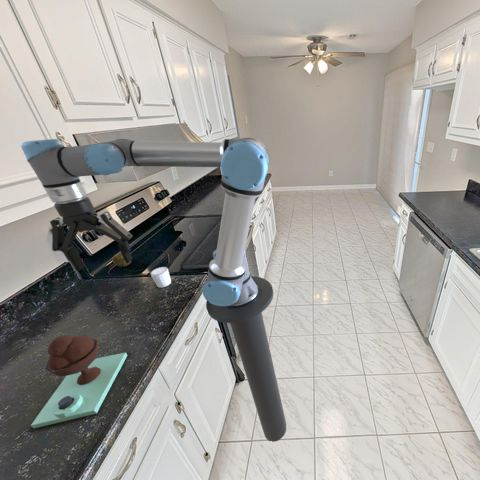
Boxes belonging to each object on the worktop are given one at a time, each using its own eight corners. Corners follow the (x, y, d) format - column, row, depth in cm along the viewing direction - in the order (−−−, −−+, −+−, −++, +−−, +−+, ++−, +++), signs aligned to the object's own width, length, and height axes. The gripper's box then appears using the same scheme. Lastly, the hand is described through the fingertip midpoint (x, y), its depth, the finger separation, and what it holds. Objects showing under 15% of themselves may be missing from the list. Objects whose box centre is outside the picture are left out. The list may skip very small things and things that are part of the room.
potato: (136, 257, 138) (130, 245, 134) (131, 269, 127) (125, 256, 124) (119, 261, 135) (112, 248, 132) (112, 274, 125) (104, 260, 121)
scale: (127, 355, 81) (123, 348, 79) (96, 413, 65) (91, 406, 64) (78, 365, 78) (73, 359, 77) (33, 428, 63) (26, 422, 61)
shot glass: (152, 287, 113) (146, 274, 110) (164, 278, 119) (159, 265, 115) (163, 289, 111) (158, 276, 108) (176, 280, 117) (171, 267, 113)
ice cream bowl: (61, 403, 67) (27, 365, 60) (69, 371, 75) (40, 335, 68) (110, 380, 72) (84, 343, 65) (112, 353, 80) (90, 318, 73)
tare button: (75, 398, 66) (72, 394, 66) (69, 407, 64) (66, 404, 63) (65, 400, 66) (61, 397, 65) (58, 410, 64) (55, 406, 63)
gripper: (6, 210, 64) (51, 278, 74) (114, 197, 69) (144, 263, 78) (29, 201, 71) (68, 264, 81) (126, 190, 75) (152, 252, 85)
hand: (105, 264), depth 80 cm, fingers open, 13 cm apart
